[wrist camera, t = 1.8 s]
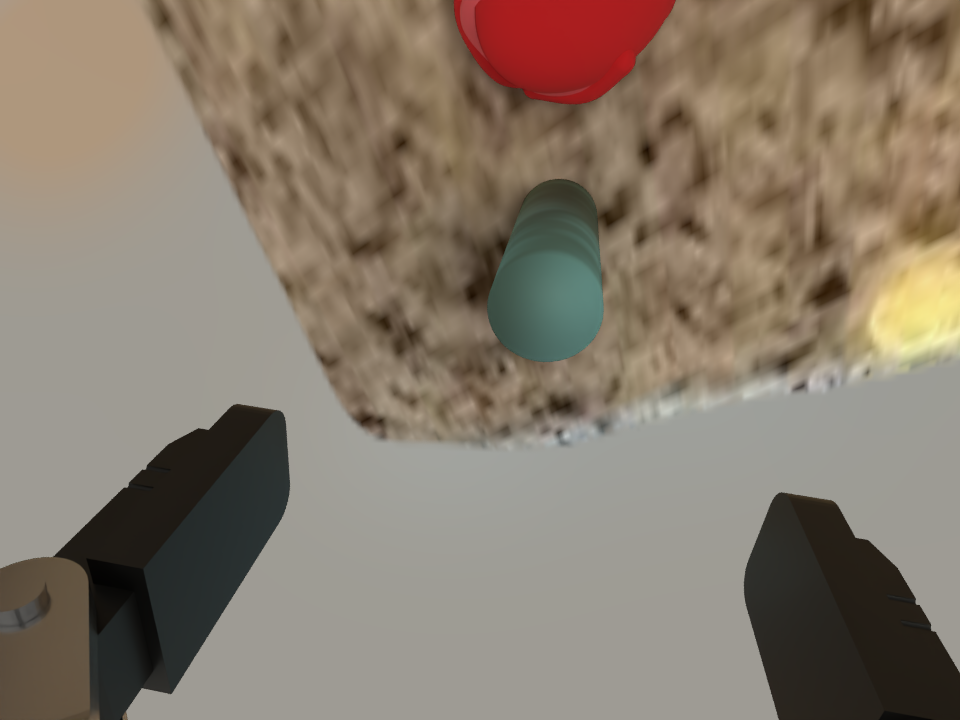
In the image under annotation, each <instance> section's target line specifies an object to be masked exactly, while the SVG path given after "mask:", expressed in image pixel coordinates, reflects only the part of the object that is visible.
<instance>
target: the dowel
mask: <svg viewBox="0 0 960 720" xmlns="http://www.w3.org/2000/svg"><path fill="white" fill-rule="evenodd" d="M487 311H488V318H489V322H490V325H491V327H492V330H493V331H494V333H495V335H496V336H497V338H498V339H499V340H500V342H501V343H502V344H503V345H504V346H505V347H507V348H508V349H509V350H510V351H512V352H513V353H515V354H517V355H519V356H521V357H523V358H526V359H529V360H533V361H540V362H553V361H560V360H563V359H567V358H569V357H572V356H574V355H575V354H577V353H579V352H580V351H582V350H583V349H585V348H586V347H587V346H588V345H589V344H590V343H591V341H592V340H593V339H594V338H595V336H596V334H597V333H598V331H599V328H600V326H601V323H602V319H603V312H604V309H603V292H602V278H601V263H600V249H599V235H598V221H597V210H596V206H595V203H594V201H593V199H592V197H591V195H590V194H589V193H588V192H587V191H586V190H585V189H584V188H583V187H582V186H580V185H579V184H577V183H575V182H572V181H569V180H564V179H554V180H549V181H546V182H543V183H541V184H539V185H538V186H536V187H535V188H534V189H533V190H532V191H531V192H530V193H529V194H528V195H527V197H526V198H525V200H524V202H523V204H522V207H521V209H520V212H519V215H518V217H517V220H516V223H515V226H514V228H513V231H512V234H511V236H510V239H509V242H508V244H507V247H506V250H505V252H504V255H503V258H502V261H501V263H500V266H499V269H498V271H497V274H496V277H495V279H494V282H493V285H492V287H491V290H490V293H489V297H488V305H487Z"/></svg>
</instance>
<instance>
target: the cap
mask: <svg viewBox="0 0 960 720" xmlns="http://www.w3.org/2000/svg"><path fill="white" fill-rule="evenodd" d="M675 1H676V0H454V11H455V18H456V22H457V26H458V29H459V31H460V34H461V36H462V38H463V40H464V42H465V44H466V45H467V47H468V49H469V50H470V52H471V54H472V55H473V57H474V58H475V60H476V61H477V63H478V64H479V65H480V67H481V68H482V69H483V70H484V71H485V72H486V74H487V75H488V76H490V77H491V78H492V79H493V80H494V81H496V82H497V83H499V84H501V85H503V86H507V87H512V88H522V89H523V91H524V93H525V95H526V96H528V97H529V98H531V99H538V100H544V101H550V102H555V103H561V104H582V103H587V102H590V101H593V100H595V99H597V98H599V97H601V96H602V95H604V94H605V93H606V92H608V91H609V90H610V89H611V88H612V87H613V86H615V85H616V84H617V83H618V82H619V81H620V80H621V79H622V78H623V77H625V76H626V75H627V74H628V73H629V72H630V71H631V70H632V69H633V67H634V65H635V60H636V56H637V55H638V54H639V53H640V52H641V51H642V50H643V49H644V48H645V47H646V46H647V44H648V43H649V42H650V41H651V40H652V38H653V37H654V36H655V34H656V33H657V32H658V30H659V29H660V27H661V25H662V24H663V22H664V20H665V19H666V18H667V17H668V15H669V14H670V12H671V10H672V8H673V6H674V4H675Z"/></svg>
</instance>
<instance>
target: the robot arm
mask: <svg viewBox="0 0 960 720" xmlns="http://www.w3.org/2000/svg"><path fill="white" fill-rule="evenodd" d="M289 479H290V478H289V463H288V449H287V433H286V421H285V417H284V415H283V413H282V412H281V411H278V410H271V409H265V408H259V407H253V406H247V405H241V404H236V405H233V406H231V407H230V408H229V409H228V410H227V412H225V413H224V414H223V416H222V417H221V418H220V419H219V420H218V421H217V422H216V423H215V424H214V425H213V426H212V427H211V428H210V429H209V430H205V429H199V428H198V429H196V430H194V431H193V432H191V433H189V434H187V435H185V436H183V437H181V438H179V439H177V440H175V441H174V442H172V443H170V444H168V445H167V446H166V447H165V448H164V449H163V450H162V451H161V452H160V453H159V454H158V455H157V456H156V457H155V458H154V459H153V460H152V461H151V462H150V463H149V464H148V465H147V468H146V470H142V471H140V473H138V474H137V475H136V476H135V477H134V478H133V479H132V480H131V481H130V482H129V486H128V488H123V489H122V490H121V491H120V492H119V493H118V494H117V495H116V496H115V497H114V498H113V499H112V500H111V501H110V502H109V503H108V504H107V505H106V506H105V507H104V508H103V509H102V510H101V511H100V512H99V513H98V514H96V516H94V517H93V518H92V519H91V521H89V522H88V523H87V524H86V525H85V526H84V527H83V528H82V529H81V530H80V531H79V532H78V533H77V534H76V535H75V536H74V537H73V538H72V539H71V540H70V541H69V542H68V543H67V544H66V545H65V546H64V547H63V548H62V549H61V550H60V551H59V552H58V553H57V554H56V555H55V556H53V557H42V558H33V559H28V560H24V561H20V562H17V563H13V564H11V565H8V566H6V567H3V568H1V569H0V720H128V719H127V714H126V710H127V709H128V707H129V706H130V704H131V703H132V702H133V700H134V699H135V697H136V696H137V694H138V693H139V691H140V690H141V688H144V689H149V690H154V691H159V692H164V693H168V694H172V692H173V691H174V689H175V688H176V686H177V684H178V683H179V681H180V680H181V678H182V676H183V675H184V673H185V672H186V670H187V669H188V667H189V665H190V664H191V662H192V661H193V659H194V657H195V656H196V654H197V653H198V651H199V649H200V647H201V646H202V645H203V643H204V642H205V640H206V638H207V637H208V635H209V634H210V632H211V630H212V629H213V627H214V625H215V624H216V622H217V621H218V619H219V618H220V616H221V614H222V613H223V611H224V610H225V608H226V607H227V605H228V603H229V602H230V600H231V599H232V597H233V595H234V594H235V592H236V590H237V589H238V587H239V586H240V584H241V583H242V581H243V579H244V578H245V576H246V575H247V573H248V572H249V570H250V568H251V567H252V565H253V563H254V562H255V560H256V559H257V557H258V556H259V554H260V552H261V551H262V549H263V548H264V546H265V544H266V543H267V541H268V540H269V538H270V536H271V535H272V533H273V532H274V530H275V529H276V527H277V525H278V524H279V522H280V520H281V519H282V516H283V514H284V512H285V509H286V505H287V502H288V497H289V490H290V480H289ZM744 595H745V602H746V606H747V610H748V614H749V617H750V621H751V624H752V628H753V631H754V635H755V638H756V641H757V645H758V648H759V652H760V655H761V659H762V662H763V666H764V669H765V673H766V676H767V680H768V683H769V686H770V690H771V694H772V697H773V701H774V704H775V707H776V711H777V715H778V718H779V720H960V673H959V671H958V669H957V667H956V666H955V664H954V662H953V661H952V659H951V658H950V656H949V654H948V652H947V651H946V649H945V647H944V646H943V644H942V642H941V641H940V639H939V637H938V635H937V634H936V632H933V631H931V624H930V622H929V620H928V618H927V617H926V615H925V613H924V612H923V610H922V608H921V607H920V605H916V603H915V600H916V598H915V597H914V595H913V593H912V592H911V590H910V588H909V587H908V585H907V583H906V582H905V580H904V578H903V577H902V575H901V573H900V571H899V570H898V568H897V567H896V566H895V565H894V564H893V563H892V562H891V561H890V560H888V559H887V558H886V557H885V556H884V555H883V554H882V553H881V552H880V551H879V550H878V549H877V548H876V547H875V546H874V545H873V544H871V542H869V541H868V540H865V539H859V538H855V536H854V534H853V532H852V531H851V529H850V527H849V525H848V523H847V522H846V520H845V518H844V516H843V514H842V512H841V511H840V509H839V507H838V506H837V504H836V503H835V502H833V501H831V500H825V499H819V498H813V497H807V496H801V495H794V494H788V493H782V492H781V493H779V494H777V495H776V496H775V497H774V499H773V500H772V503H771V505H770V507H769V510H768V512H767V515H766V518H765V520H764V523H763V525H762V528H761V530H760V533H759V535H758V538H757V540H756V543H755V545H754V548H753V550H752V553H751V556H750V558H749V560H748V563H747V567H746V571H745V578H744Z"/></svg>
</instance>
